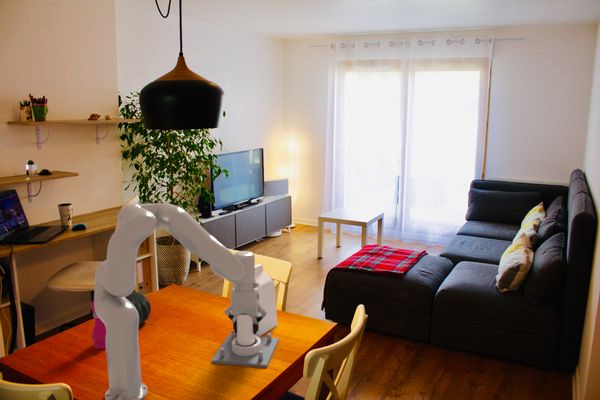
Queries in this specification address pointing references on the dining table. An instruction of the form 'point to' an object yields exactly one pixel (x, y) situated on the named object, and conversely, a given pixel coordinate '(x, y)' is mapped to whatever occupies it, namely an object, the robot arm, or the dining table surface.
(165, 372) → the dining table surface
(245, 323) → the can
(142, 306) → the squash
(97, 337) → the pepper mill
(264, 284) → the milk
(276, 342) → the carrier plate
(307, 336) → the dining table surface
